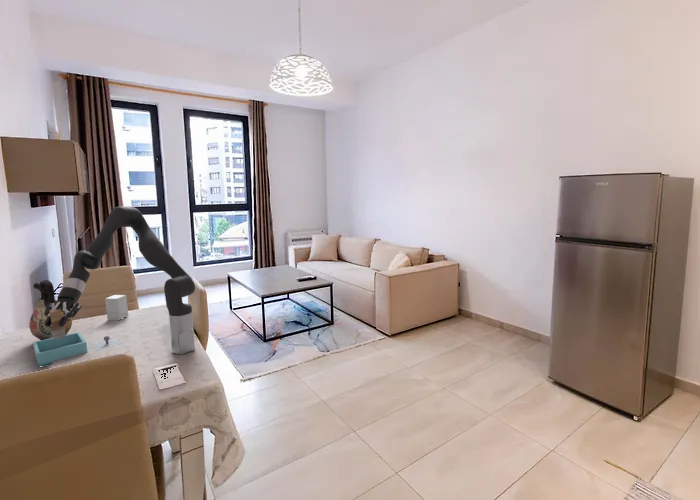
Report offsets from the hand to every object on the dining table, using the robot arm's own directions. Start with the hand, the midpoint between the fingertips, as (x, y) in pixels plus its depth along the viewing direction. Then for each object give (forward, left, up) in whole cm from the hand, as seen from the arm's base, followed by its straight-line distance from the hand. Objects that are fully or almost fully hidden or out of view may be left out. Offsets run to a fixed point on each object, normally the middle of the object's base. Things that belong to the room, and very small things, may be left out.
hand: (53, 325), depth 148 cm
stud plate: (-3, -17, -14) cm, 22 cm away
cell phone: (-51, -27, -15) cm, 60 cm away
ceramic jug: (+24, -1, -14) cm, 28 cm away
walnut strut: (+1, -1, -6) cm, 6 cm away
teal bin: (+1, -1, -14) cm, 14 cm away
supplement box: (+37, -30, -14) cm, 50 cm away
